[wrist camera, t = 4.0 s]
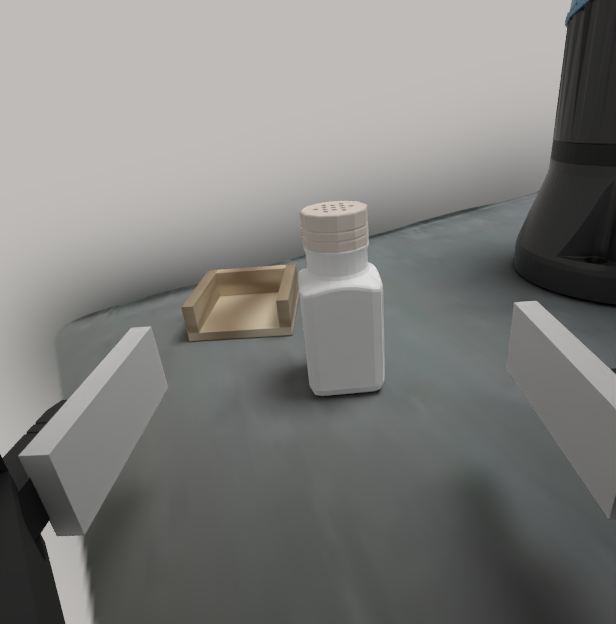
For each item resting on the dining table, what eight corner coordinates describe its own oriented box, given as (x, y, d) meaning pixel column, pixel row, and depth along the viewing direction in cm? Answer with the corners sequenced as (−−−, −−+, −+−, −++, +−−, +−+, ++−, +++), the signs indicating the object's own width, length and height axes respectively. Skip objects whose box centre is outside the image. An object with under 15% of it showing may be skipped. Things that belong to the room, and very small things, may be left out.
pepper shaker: (310, 402, 23) (291, 221, 19) (308, 361, 26) (291, 203, 22) (387, 394, 23) (383, 212, 19) (374, 355, 26) (369, 195, 22)
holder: (299, 293, 36) (295, 264, 35) (292, 334, 30) (288, 300, 29) (214, 299, 37) (208, 270, 36) (189, 341, 30) (181, 307, 29)
